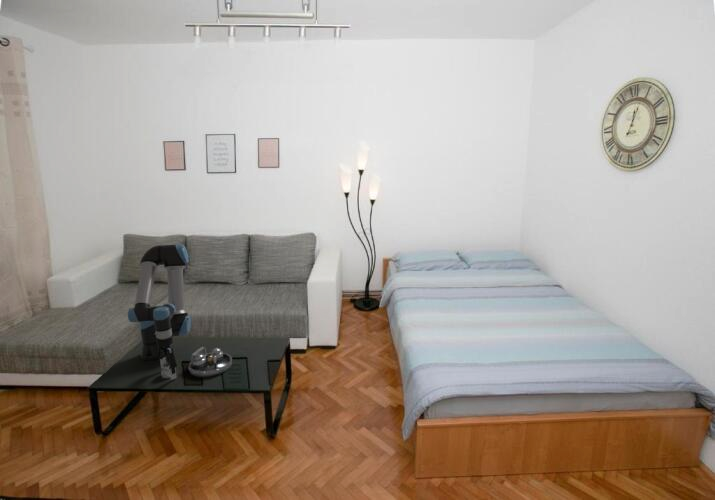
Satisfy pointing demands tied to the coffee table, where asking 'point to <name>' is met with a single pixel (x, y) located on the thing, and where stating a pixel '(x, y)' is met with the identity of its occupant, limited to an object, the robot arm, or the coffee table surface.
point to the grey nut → (165, 371)
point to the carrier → (210, 363)
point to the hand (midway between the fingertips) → (168, 374)
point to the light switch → (199, 351)
